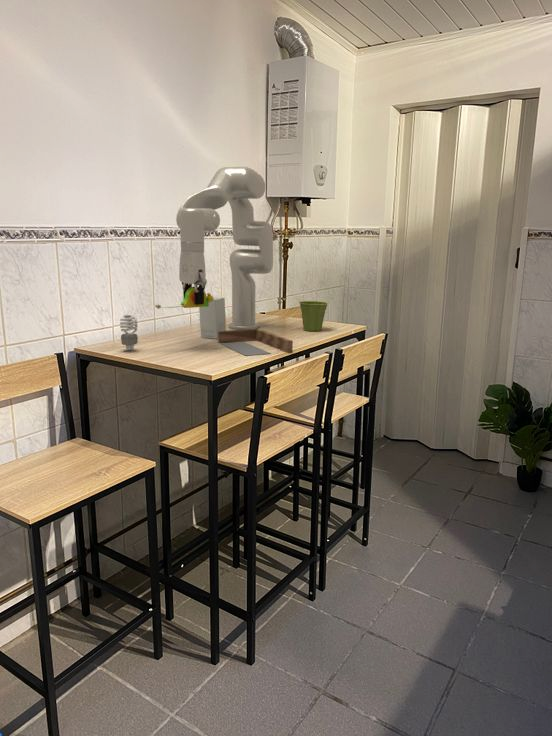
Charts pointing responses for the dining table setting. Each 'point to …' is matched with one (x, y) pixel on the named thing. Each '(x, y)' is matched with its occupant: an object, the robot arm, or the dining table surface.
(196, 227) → the robot arm
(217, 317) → the skincare box
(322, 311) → the plant pot
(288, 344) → the wall
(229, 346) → the mat
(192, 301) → the toy measuring tape
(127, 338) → the light bulb
